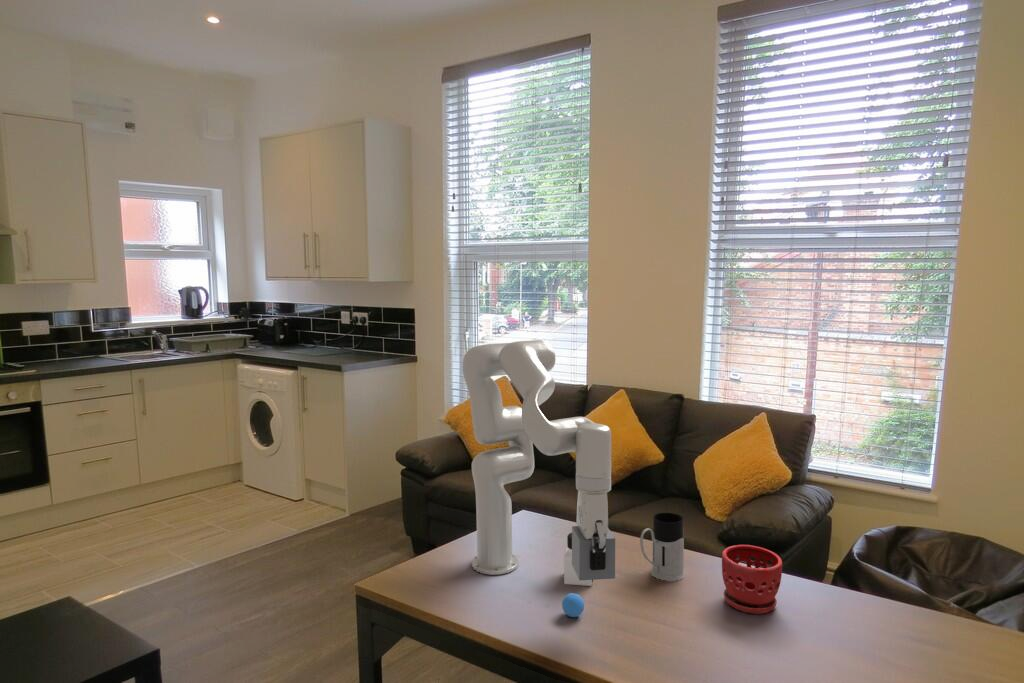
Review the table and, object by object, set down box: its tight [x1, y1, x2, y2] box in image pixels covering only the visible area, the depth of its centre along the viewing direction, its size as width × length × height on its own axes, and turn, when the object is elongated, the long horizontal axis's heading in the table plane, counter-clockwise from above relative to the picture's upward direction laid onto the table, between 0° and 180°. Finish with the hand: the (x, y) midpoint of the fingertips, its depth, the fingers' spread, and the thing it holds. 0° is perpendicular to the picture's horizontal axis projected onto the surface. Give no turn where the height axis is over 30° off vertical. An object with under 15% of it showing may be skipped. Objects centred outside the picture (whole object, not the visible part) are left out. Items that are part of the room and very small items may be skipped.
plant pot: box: [721, 544, 783, 615], centre depth 148 cm, size 13×13×12 cm
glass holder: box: [639, 512, 686, 582], centre depth 164 cm, size 9×14×15 cm, turn 124°
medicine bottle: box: [563, 531, 594, 587], centre depth 163 cm, size 7×7×12 cm
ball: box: [561, 592, 585, 618], centre depth 145 cm, size 5×5×5 cm
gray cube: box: [571, 525, 616, 581], centre depth 138 cm, size 8×8×9 cm
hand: (592, 560), depth 139 cm, fingers closed on gray cube, 7 cm apart
